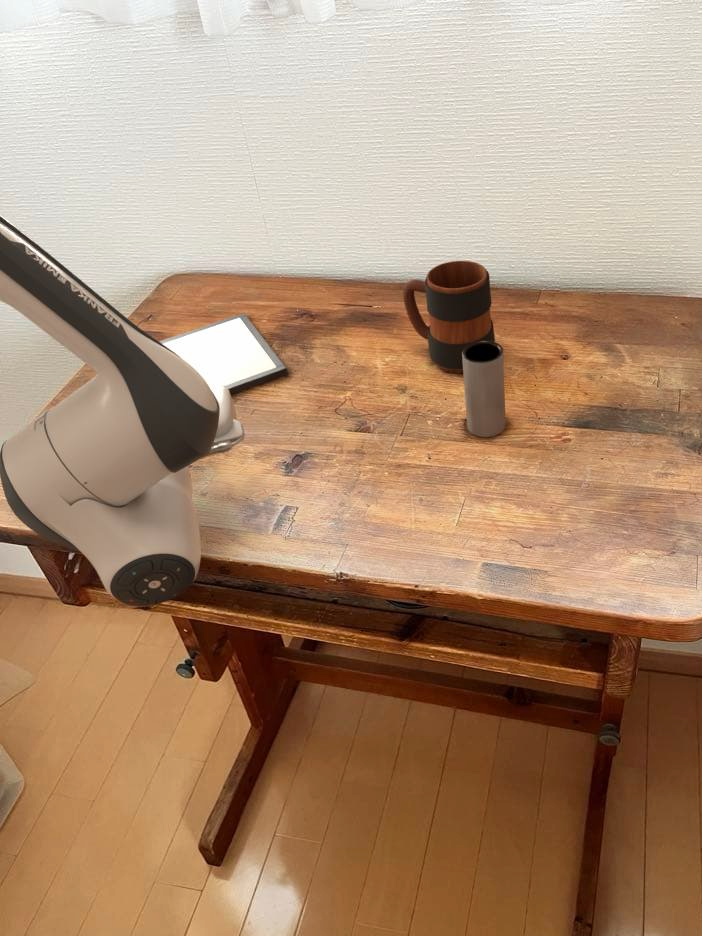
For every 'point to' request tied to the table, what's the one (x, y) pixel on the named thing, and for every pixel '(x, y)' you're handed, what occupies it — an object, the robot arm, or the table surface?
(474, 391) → the planter
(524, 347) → the table surface
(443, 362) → the mug
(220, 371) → the board
